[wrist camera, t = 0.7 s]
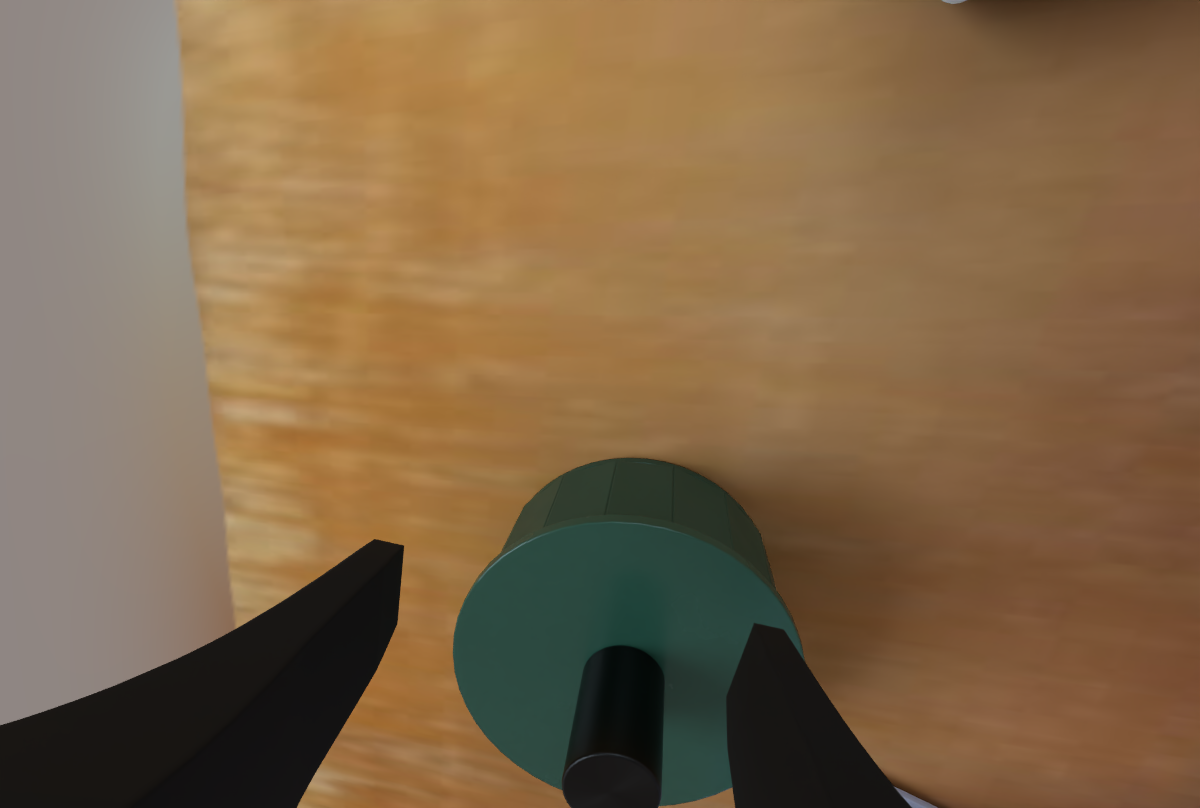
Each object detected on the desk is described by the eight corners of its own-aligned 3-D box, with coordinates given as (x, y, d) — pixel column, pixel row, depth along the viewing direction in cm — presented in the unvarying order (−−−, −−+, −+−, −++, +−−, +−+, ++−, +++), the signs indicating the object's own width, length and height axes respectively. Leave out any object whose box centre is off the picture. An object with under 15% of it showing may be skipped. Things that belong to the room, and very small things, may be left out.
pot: (687, 718, 27) (689, 828, 22) (469, 613, 26) (425, 704, 22) (822, 535, 23) (857, 622, 19) (572, 410, 23) (545, 467, 18)
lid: (693, 823, 23) (697, 990, 18) (417, 693, 23) (348, 831, 18) (871, 605, 19) (934, 745, 14) (543, 442, 19) (496, 532, 14)
